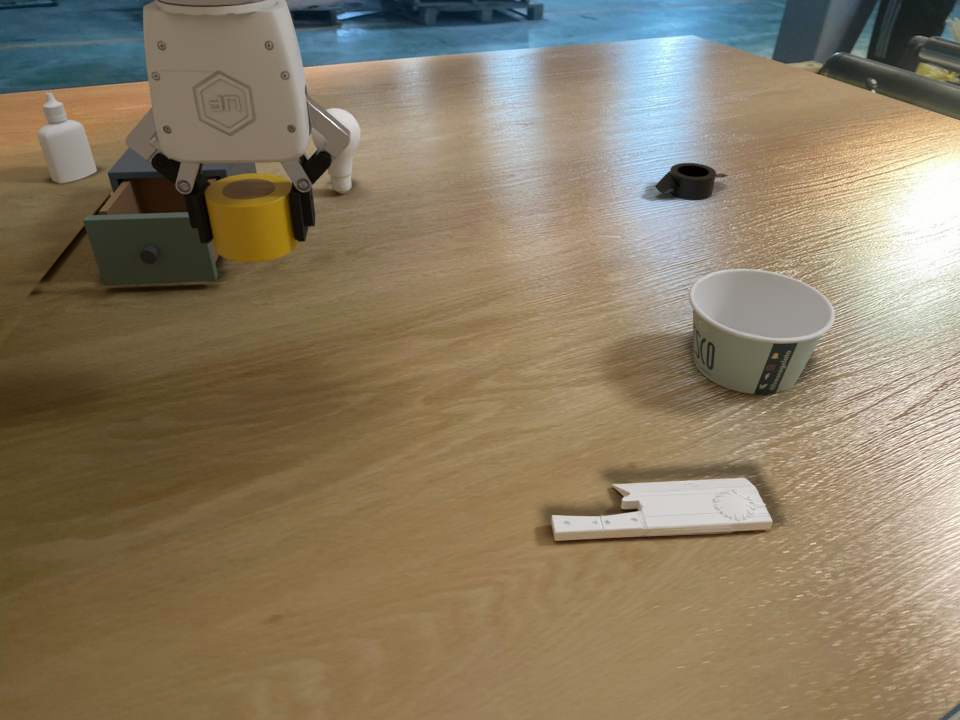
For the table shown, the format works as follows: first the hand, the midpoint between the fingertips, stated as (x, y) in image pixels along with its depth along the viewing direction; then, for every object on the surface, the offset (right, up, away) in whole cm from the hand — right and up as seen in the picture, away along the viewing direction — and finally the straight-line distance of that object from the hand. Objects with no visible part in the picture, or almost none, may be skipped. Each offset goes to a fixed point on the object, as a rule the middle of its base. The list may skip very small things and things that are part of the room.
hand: (256, 233), depth 59 cm
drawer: (-16, +2, +25) cm, 30 cm away
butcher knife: (+30, -21, -5) cm, 36 cm away
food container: (+41, -10, +10) cm, 44 cm away
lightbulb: (-1, +12, +42) cm, 43 cm away
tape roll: (0, -1, +1) cm, 1 cm away
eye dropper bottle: (-37, +14, +44) cm, 59 cm away
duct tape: (+45, +12, +42) cm, 63 cm away
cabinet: (-17, +7, +35) cm, 39 cm away
